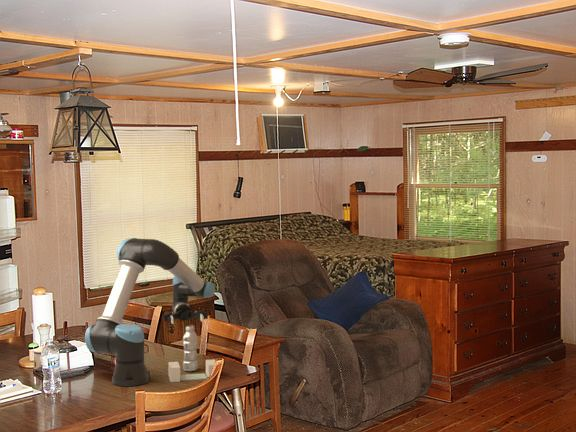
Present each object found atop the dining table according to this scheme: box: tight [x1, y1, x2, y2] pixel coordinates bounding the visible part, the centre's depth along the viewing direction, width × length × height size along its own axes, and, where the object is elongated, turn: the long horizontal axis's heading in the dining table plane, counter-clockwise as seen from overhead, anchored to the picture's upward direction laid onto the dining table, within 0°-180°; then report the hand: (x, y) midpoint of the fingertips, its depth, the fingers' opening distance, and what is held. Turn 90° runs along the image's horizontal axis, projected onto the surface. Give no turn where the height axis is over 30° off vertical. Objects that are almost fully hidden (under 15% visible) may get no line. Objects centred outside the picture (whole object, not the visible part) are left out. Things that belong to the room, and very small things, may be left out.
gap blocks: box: [167, 358, 216, 383], centre depth 329 cm, size 10×20×6 cm, turn 104°
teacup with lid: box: [32, 343, 45, 370], centre depth 341 cm, size 12×9×12 cm
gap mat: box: [180, 372, 208, 382], centre depth 329 cm, size 8×11×1 cm
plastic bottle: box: [182, 324, 199, 372], centre depth 339 cm, size 6×7×20 cm
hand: (187, 320), depth 349 cm, fingers open, 13 cm apart
